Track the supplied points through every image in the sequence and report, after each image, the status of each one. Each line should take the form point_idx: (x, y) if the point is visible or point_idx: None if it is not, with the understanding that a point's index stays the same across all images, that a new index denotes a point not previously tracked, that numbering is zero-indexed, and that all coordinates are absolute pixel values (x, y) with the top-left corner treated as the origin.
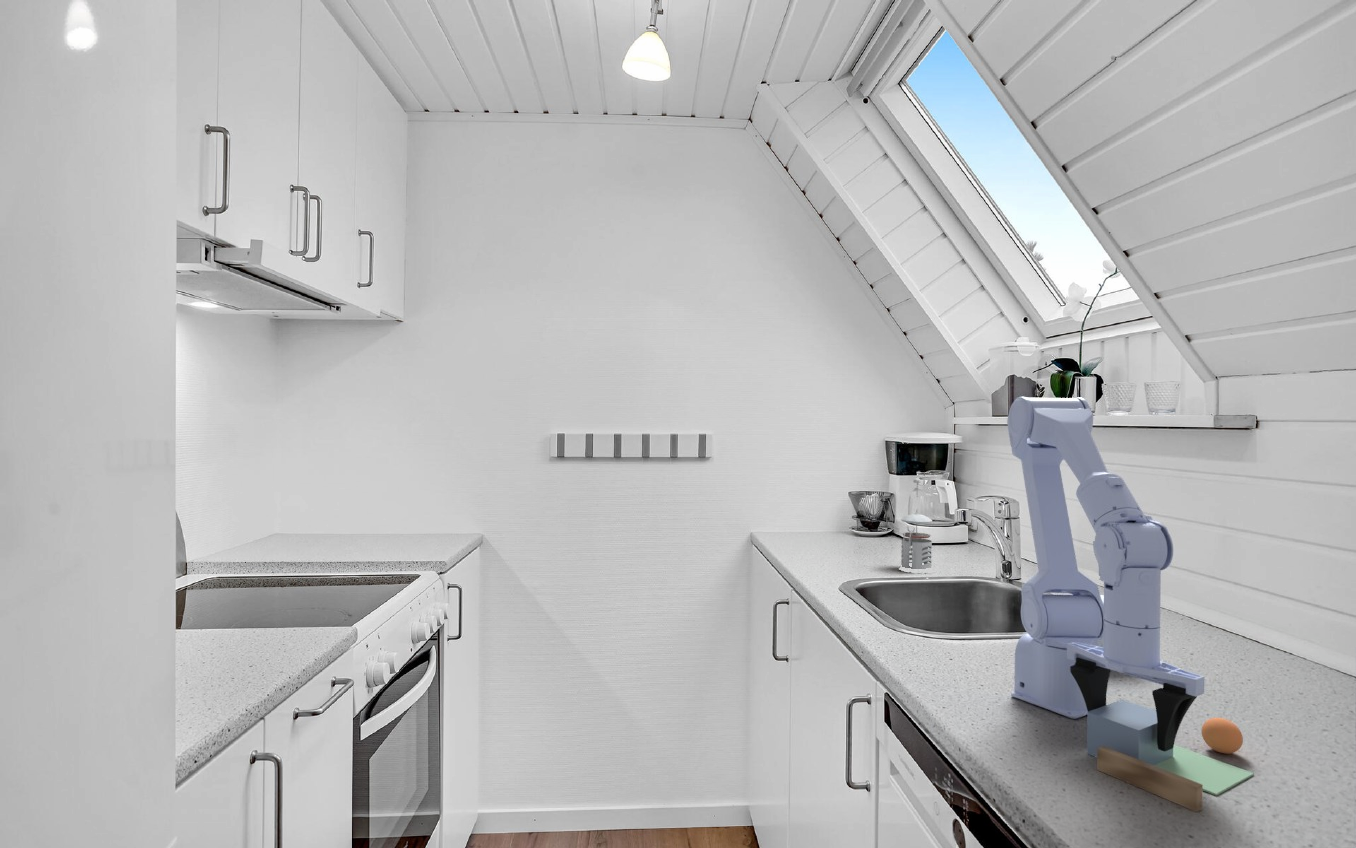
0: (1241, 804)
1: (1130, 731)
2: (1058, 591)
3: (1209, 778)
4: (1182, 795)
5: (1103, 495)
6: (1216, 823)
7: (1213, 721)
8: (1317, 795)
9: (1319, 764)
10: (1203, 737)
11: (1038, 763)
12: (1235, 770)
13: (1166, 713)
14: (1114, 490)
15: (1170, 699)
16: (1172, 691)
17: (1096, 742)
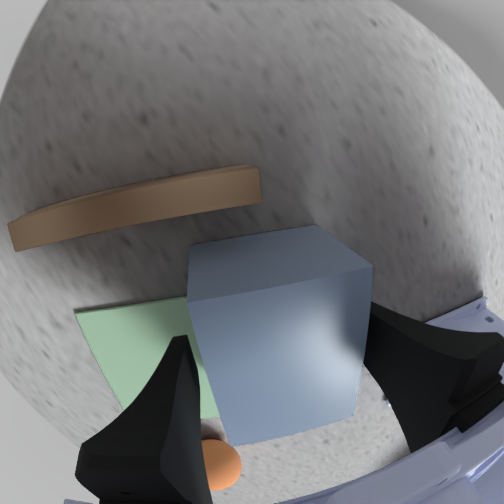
0: (49, 322)
1: (216, 289)
2: None
3: (128, 360)
4: (45, 208)
5: None
6: (5, 208)
7: (220, 479)
8: (76, 428)
9: None
10: (227, 448)
11: (330, 64)
12: None
13: (133, 413)
14: None
15: (83, 456)
16: (138, 501)
17: (307, 239)
